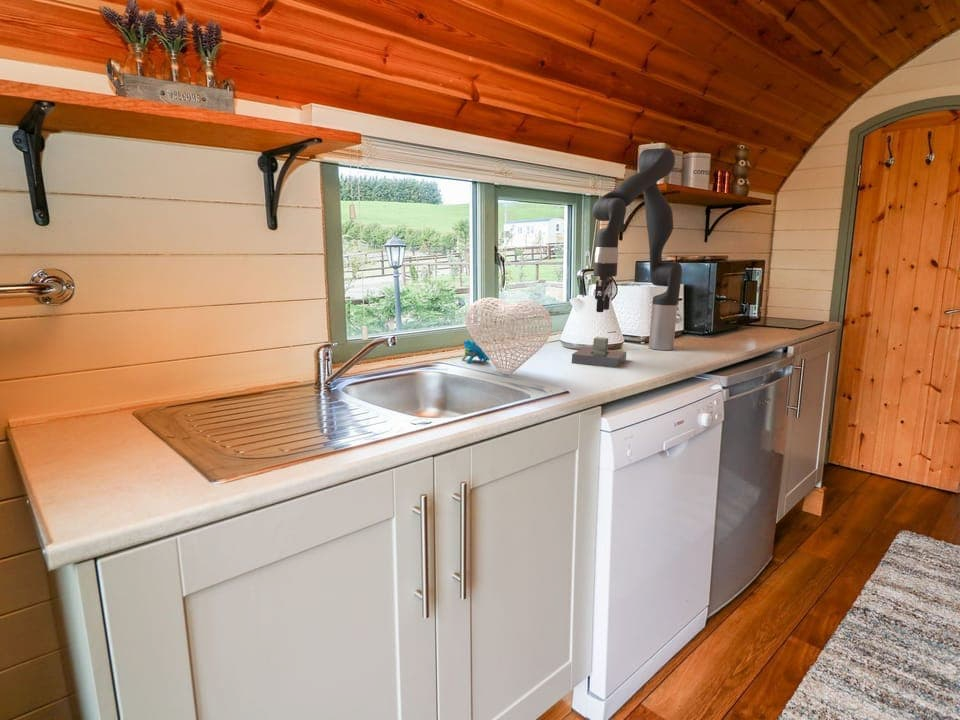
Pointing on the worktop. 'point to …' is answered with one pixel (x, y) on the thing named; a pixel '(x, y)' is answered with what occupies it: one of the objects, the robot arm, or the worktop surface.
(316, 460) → the worktop surface
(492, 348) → the heart
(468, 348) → the blue irregular piece
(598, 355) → the hole block
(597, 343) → the peg
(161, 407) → the worktop surface
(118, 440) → the worktop surface
